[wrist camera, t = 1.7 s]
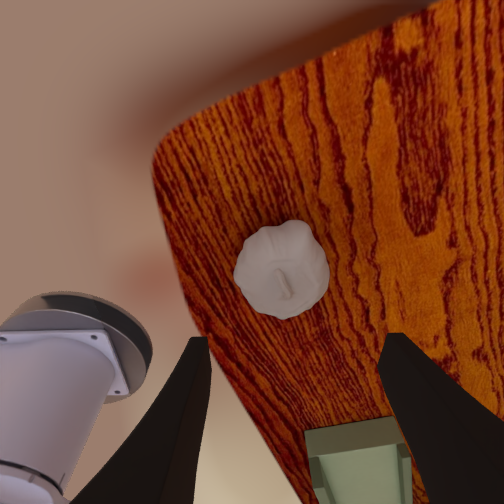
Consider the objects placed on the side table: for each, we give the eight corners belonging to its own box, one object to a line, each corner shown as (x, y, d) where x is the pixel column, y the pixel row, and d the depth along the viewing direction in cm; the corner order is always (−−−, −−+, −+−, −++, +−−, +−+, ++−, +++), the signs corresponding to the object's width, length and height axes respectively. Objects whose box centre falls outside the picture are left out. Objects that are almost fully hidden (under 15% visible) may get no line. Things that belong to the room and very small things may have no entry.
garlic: (240, 201, 17) (237, 246, 13) (330, 210, 17) (359, 258, 13) (232, 283, 20) (227, 342, 16) (309, 289, 21) (326, 349, 16)
